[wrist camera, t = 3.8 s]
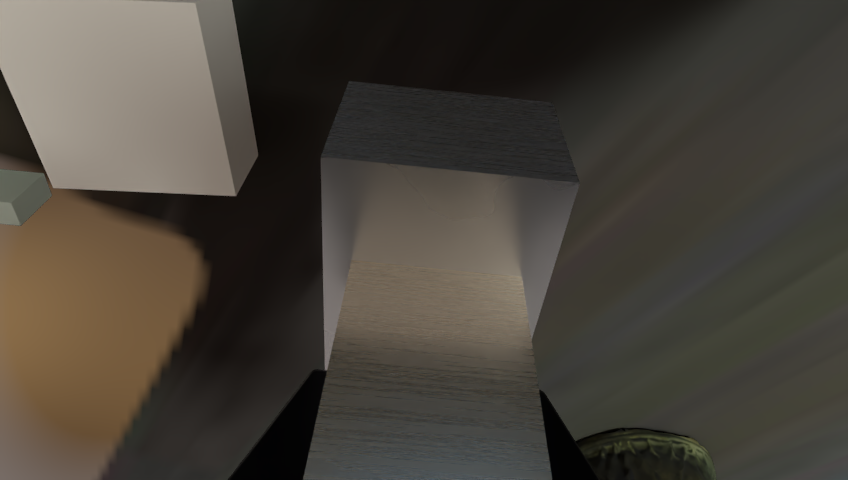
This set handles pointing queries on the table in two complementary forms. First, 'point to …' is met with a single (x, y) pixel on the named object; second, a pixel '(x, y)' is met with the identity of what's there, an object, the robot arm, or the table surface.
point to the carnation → (647, 456)
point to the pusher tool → (436, 283)
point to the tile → (131, 93)
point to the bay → (21, 195)
